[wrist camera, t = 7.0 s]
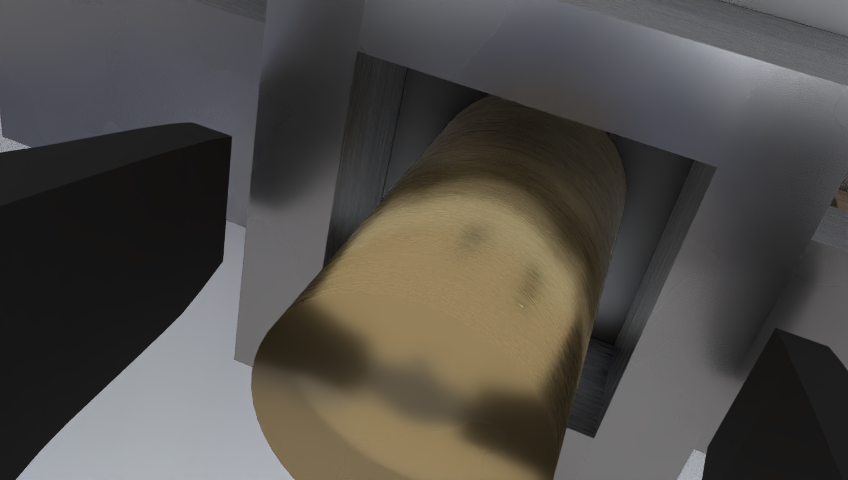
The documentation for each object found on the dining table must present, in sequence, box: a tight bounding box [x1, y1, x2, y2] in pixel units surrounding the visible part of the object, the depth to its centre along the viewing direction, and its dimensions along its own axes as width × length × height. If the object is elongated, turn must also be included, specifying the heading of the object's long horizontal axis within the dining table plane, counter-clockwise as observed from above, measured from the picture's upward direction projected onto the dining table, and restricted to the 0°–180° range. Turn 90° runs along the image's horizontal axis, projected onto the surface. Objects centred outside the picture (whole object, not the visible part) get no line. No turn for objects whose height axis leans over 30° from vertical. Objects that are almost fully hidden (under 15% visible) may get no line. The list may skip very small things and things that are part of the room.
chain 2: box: [234, 0, 848, 480], centre depth 11 cm, size 13×7×2 cm, turn 79°
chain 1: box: [0, 0, 848, 388], centre depth 13 cm, size 13×7×1 cm, turn 79°
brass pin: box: [251, 95, 626, 480], centre depth 10 cm, size 3×3×6 cm
